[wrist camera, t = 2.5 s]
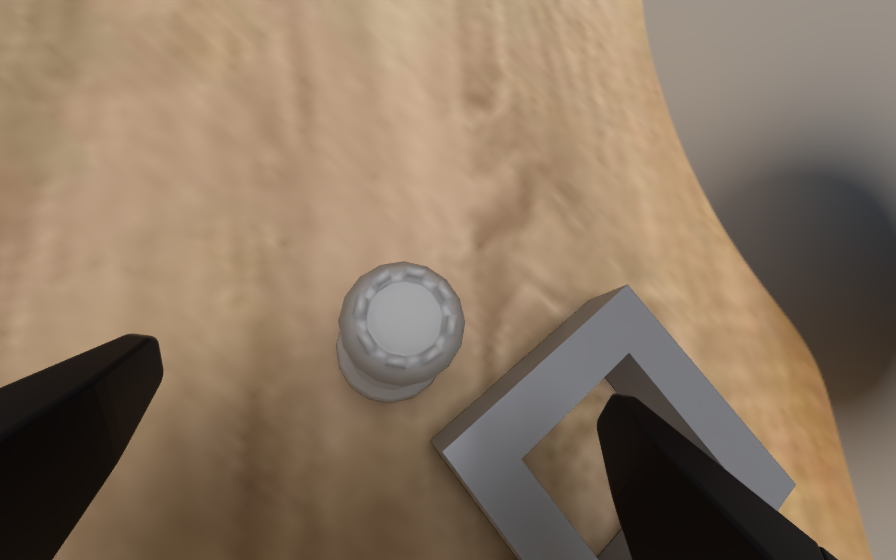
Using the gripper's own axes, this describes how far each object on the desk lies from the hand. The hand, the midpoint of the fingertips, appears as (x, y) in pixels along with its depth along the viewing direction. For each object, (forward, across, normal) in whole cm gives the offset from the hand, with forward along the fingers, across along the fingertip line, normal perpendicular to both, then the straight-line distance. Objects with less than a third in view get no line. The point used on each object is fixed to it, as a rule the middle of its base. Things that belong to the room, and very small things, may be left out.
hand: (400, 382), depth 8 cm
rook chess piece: (+8, 0, +6) cm, 9 cm away
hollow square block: (+5, -9, +8) cm, 13 cm away
